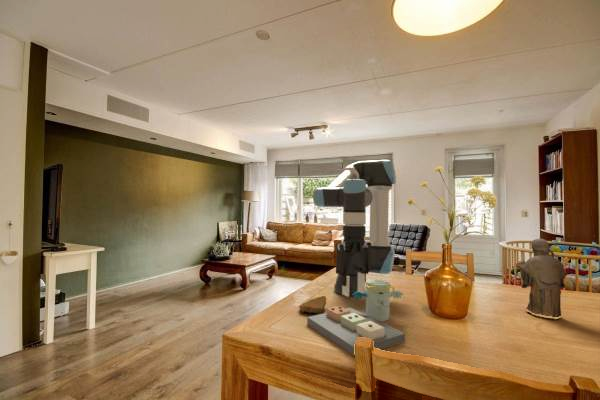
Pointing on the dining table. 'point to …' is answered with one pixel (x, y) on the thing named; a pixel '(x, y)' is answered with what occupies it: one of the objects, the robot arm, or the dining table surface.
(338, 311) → the tile three
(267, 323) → the dining table surface
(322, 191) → the robot arm
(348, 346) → the button board
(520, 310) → the dining table surface
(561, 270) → the sculpture
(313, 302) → the artifact
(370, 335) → the tile one
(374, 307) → the character sculpture
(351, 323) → the tile two
